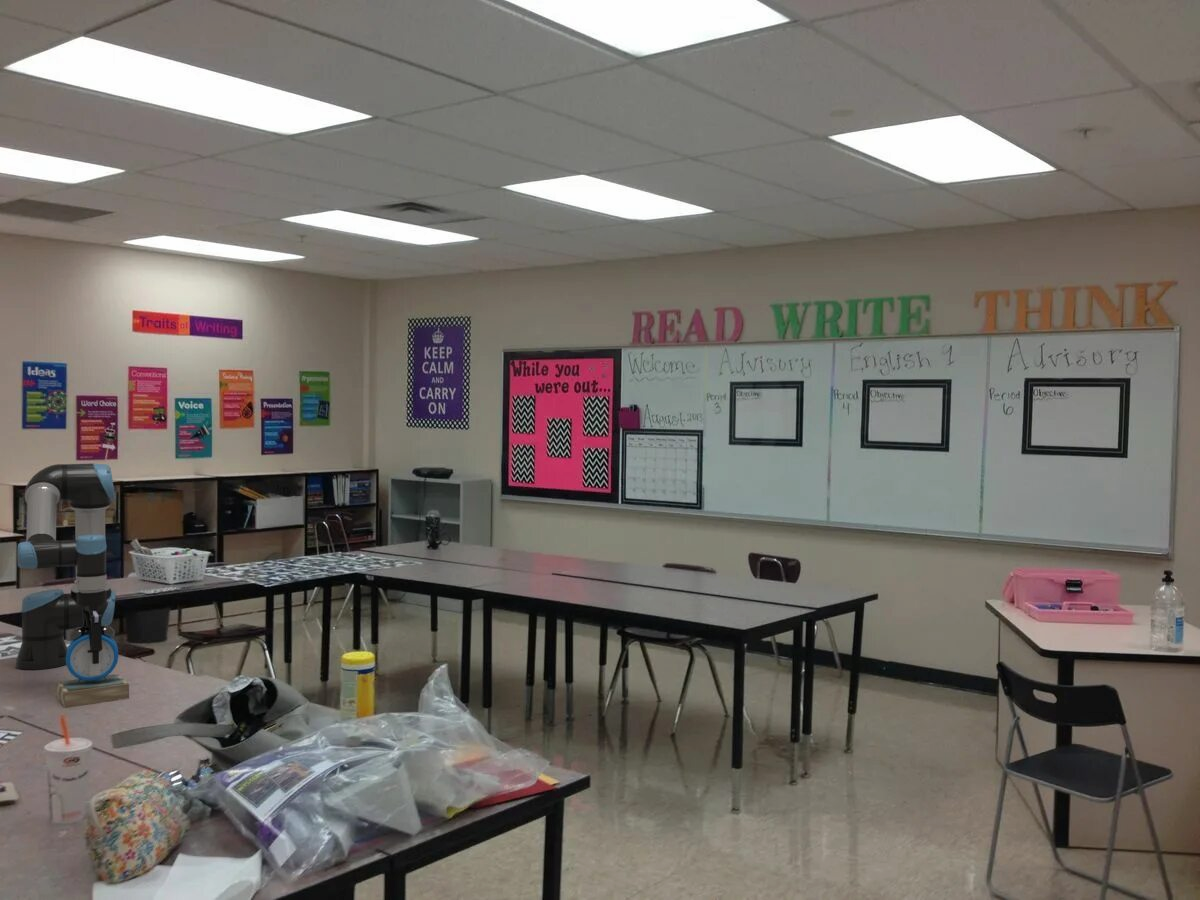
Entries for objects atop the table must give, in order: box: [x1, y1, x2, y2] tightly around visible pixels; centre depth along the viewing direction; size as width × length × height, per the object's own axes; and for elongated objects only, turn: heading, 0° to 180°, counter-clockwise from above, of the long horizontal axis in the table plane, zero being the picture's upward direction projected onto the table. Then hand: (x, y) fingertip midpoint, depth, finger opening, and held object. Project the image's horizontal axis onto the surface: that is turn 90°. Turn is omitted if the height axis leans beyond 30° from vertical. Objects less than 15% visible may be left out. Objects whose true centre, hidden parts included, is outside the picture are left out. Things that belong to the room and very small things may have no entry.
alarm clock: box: [66, 624, 119, 682], centre depth 286 cm, size 13×6×15 cm, turn 116°
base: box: [56, 673, 130, 708], centre depth 286 cm, size 14×16×4 cm
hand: (92, 672), depth 286 cm, fingers closed on alarm clock, 7 cm apart
